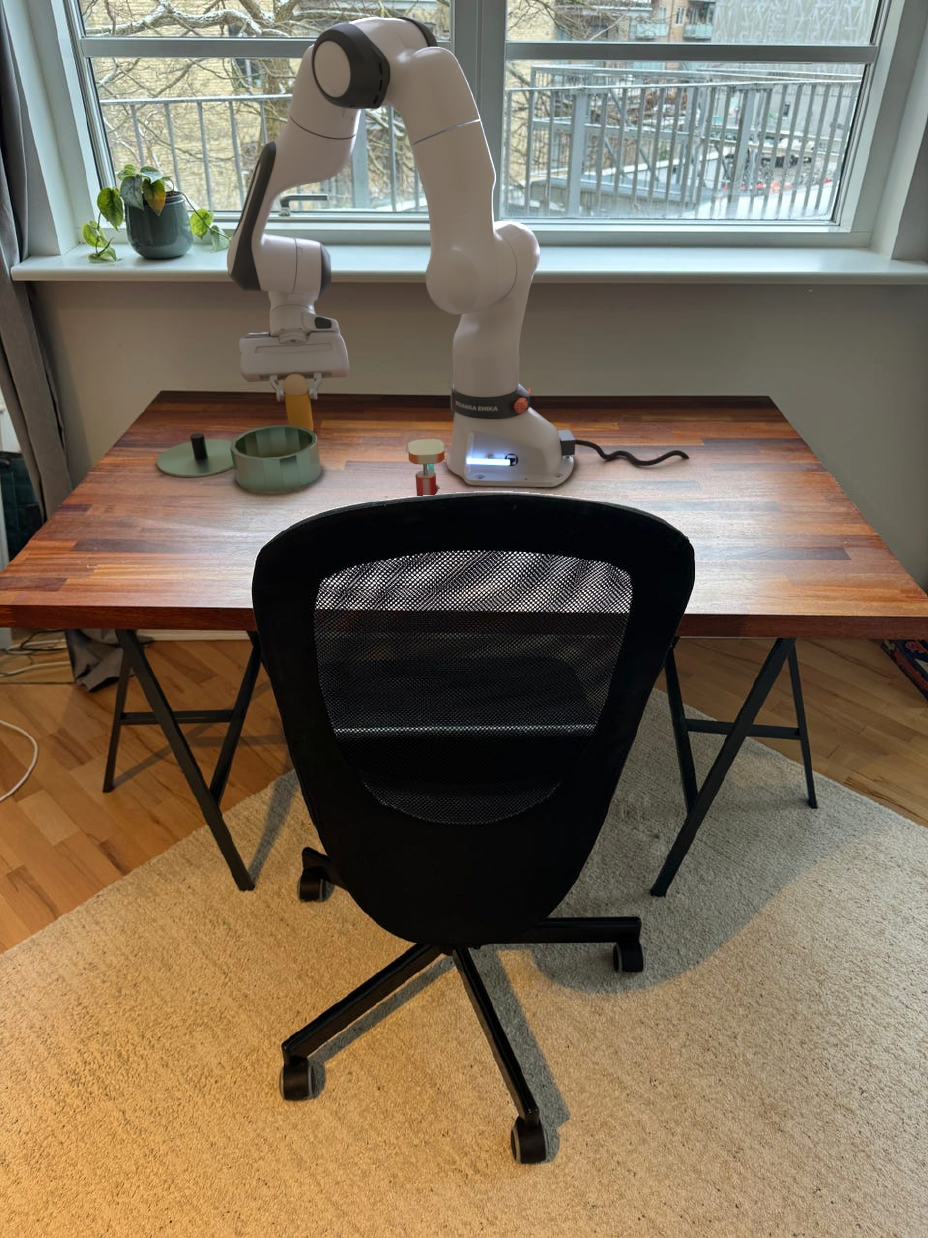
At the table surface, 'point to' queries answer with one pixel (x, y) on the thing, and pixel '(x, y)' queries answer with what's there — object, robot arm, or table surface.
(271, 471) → the pot
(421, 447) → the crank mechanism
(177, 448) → the lid
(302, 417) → the toy
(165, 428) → the table surface
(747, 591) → the table surface
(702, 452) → the table surface
